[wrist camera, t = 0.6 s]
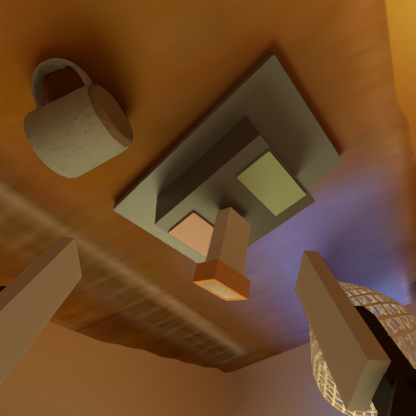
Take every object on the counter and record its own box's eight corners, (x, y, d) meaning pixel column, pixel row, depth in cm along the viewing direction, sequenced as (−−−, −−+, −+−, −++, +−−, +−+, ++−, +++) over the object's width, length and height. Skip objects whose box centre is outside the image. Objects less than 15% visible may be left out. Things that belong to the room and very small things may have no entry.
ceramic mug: (141, 131, 32) (132, 158, 26) (87, 160, 33) (67, 192, 27) (81, 39, 26) (50, 45, 20) (18, 79, 27) (-28, 96, 21)
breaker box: (199, 257, 47) (202, 295, 41) (114, 203, 38) (103, 241, 32) (338, 157, 37) (371, 186, 31) (269, 52, 28) (297, 63, 22)
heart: (351, 305, 63) (419, 418, 46) (289, 321, 65) (332, 435, 47) (361, 226, 46) (476, 356, 29) (277, 249, 48) (338, 387, 30)
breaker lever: (237, 231, 33) (225, 300, 28) (211, 209, 31) (192, 281, 25) (257, 226, 31) (247, 299, 26) (230, 202, 29) (214, 278, 24)
